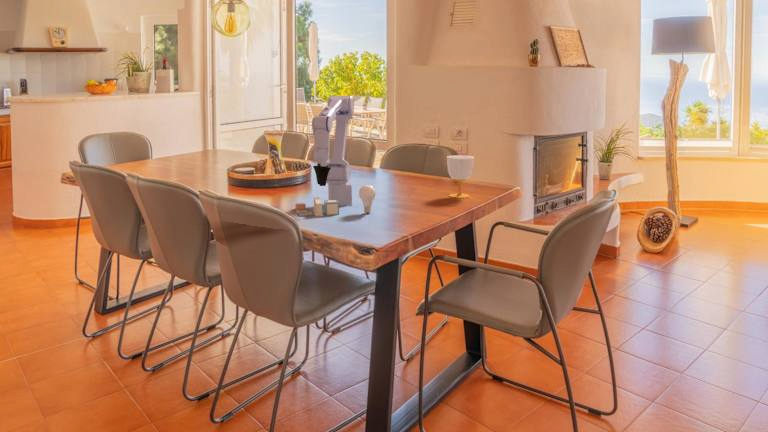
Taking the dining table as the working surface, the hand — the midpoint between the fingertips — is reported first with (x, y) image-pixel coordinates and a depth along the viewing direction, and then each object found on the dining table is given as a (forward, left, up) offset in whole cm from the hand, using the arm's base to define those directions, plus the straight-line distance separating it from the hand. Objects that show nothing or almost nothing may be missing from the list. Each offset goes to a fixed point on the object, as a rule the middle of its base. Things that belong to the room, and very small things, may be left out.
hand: (321, 185), depth 237 cm
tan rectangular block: (+1, -3, -12) cm, 12 cm away
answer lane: (+7, -8, -12) cm, 16 cm away
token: (+7, -10, -11) cm, 17 cm away
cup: (-62, -24, -12) cm, 68 cm away
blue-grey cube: (-4, -1, -12) cm, 12 cm away
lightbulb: (-17, +1, -12) cm, 21 cm away
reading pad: (+6, -1, -12) cm, 13 cm away
